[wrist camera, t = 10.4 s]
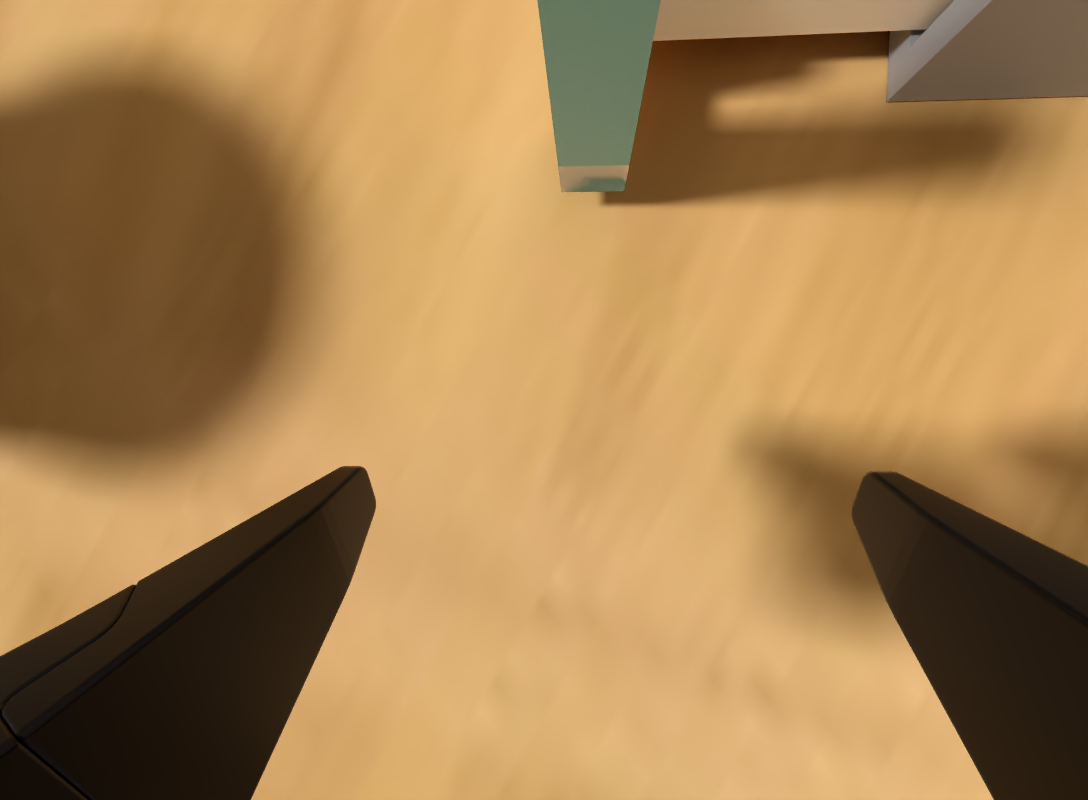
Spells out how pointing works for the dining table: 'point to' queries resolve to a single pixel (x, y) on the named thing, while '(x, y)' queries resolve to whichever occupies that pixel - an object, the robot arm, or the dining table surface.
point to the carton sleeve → (993, 52)
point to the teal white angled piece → (624, 51)
